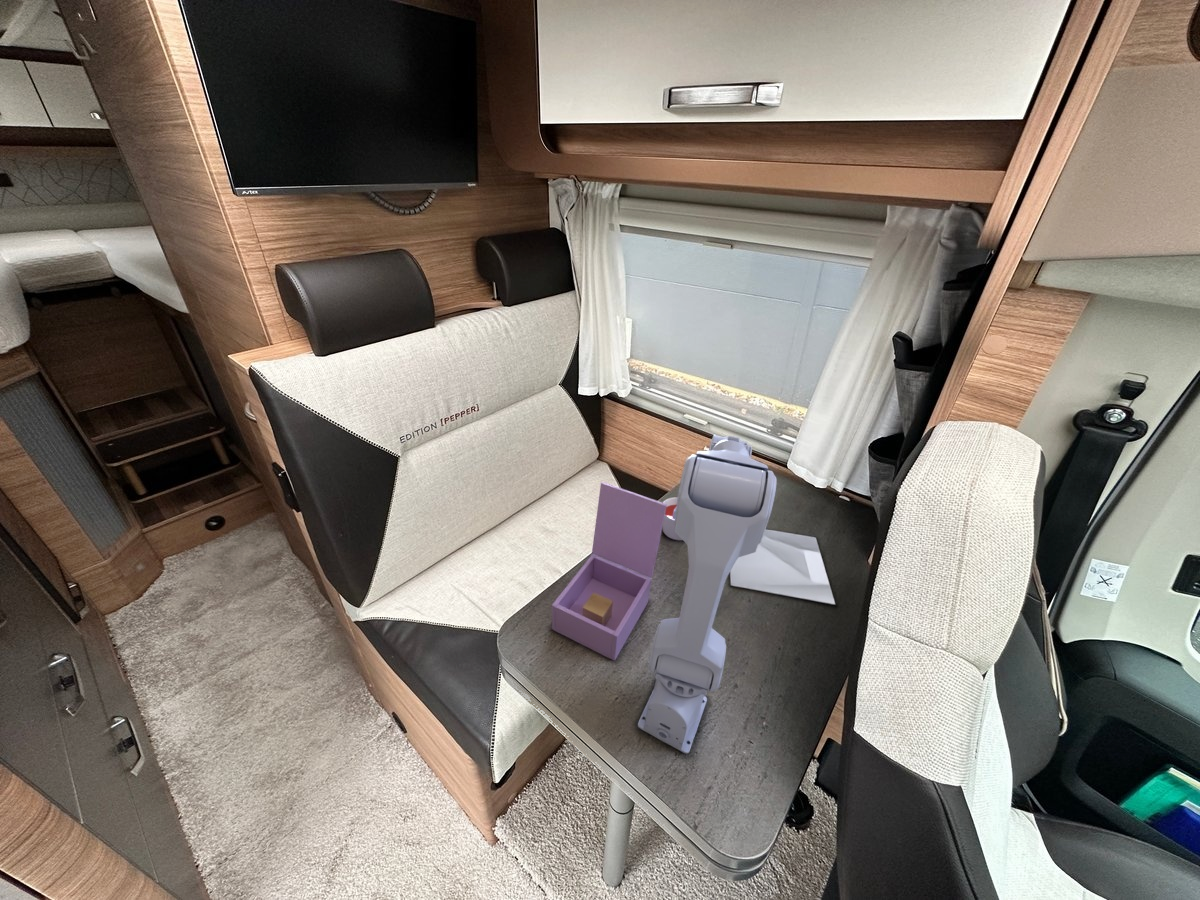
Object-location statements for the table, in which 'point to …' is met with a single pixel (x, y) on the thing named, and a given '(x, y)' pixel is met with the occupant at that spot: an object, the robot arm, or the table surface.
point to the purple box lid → (628, 528)
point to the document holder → (784, 568)
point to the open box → (609, 583)
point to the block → (598, 609)
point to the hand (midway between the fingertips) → (705, 559)
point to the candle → (670, 519)
